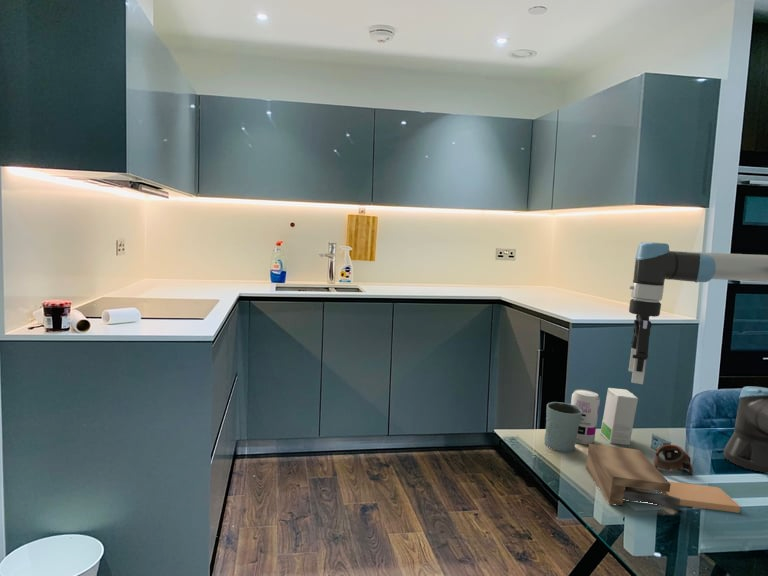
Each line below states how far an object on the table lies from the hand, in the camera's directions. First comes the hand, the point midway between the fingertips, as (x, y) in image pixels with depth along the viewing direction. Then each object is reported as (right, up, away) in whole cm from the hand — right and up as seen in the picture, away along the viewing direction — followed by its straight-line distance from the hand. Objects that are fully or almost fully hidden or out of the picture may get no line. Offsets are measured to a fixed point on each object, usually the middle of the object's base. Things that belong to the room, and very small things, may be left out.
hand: (635, 377), depth 148 cm
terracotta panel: (+9, -29, -12) cm, 33 cm away
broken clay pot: (+12, -27, +5) cm, 30 cm away
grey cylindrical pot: (-16, -23, +14) cm, 32 cm away
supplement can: (-7, -23, +21) cm, 32 cm away
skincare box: (+5, -24, +24) cm, 35 cm away
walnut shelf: (-6, -27, -11) cm, 29 cm away
